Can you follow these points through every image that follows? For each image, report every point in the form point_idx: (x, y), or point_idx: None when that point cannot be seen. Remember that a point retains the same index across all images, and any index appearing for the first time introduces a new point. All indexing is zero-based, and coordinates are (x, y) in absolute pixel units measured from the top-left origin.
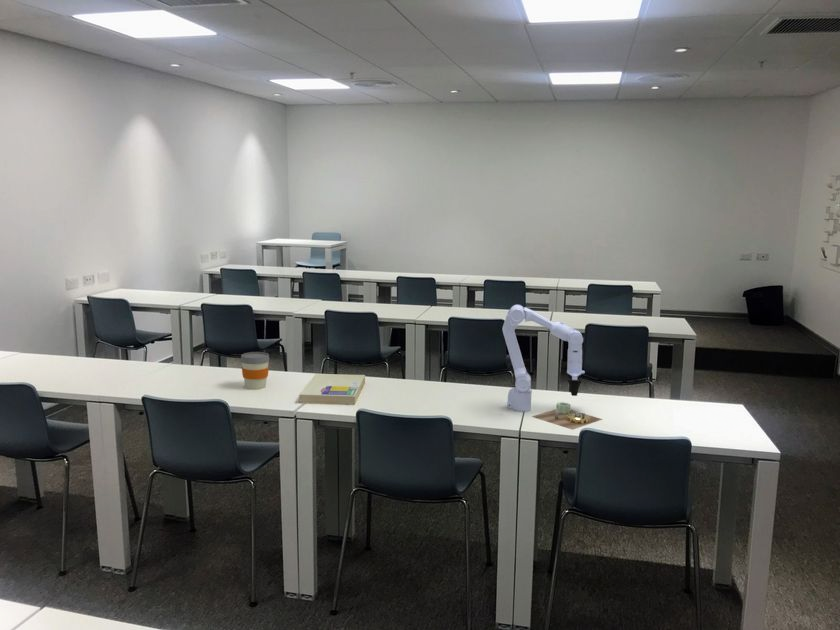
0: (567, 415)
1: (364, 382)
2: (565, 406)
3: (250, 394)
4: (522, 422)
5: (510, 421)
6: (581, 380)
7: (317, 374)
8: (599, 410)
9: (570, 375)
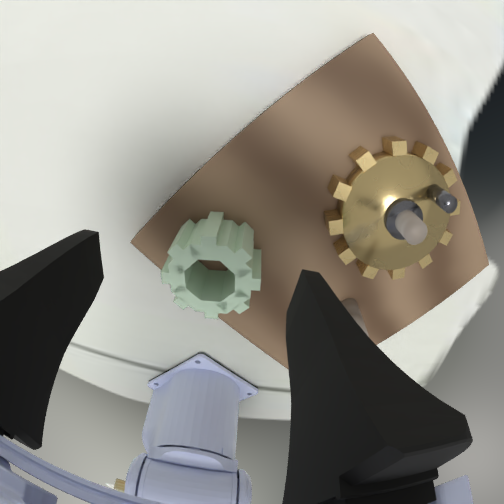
0: (370, 270)
1: (121, 482)
2: (260, 277)
3: None
4: None
5: None
6: (470, 438)
7: None
8: (115, 10)
9: (28, 425)
